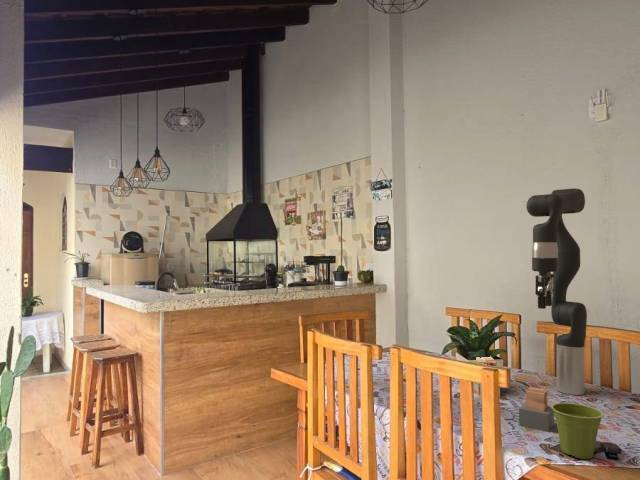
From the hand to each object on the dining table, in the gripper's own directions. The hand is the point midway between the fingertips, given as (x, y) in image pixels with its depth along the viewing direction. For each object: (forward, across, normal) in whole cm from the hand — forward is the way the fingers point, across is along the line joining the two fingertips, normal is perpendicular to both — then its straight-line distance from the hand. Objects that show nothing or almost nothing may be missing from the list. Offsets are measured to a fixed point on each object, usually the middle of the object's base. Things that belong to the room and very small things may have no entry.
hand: (544, 307), depth 149 cm
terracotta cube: (+29, +11, 0) cm, 31 cm away
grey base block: (+34, +11, 0) cm, 36 cm away
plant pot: (+34, +26, +13) cm, 45 cm away
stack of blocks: (+34, -17, -26) cm, 46 cm away
